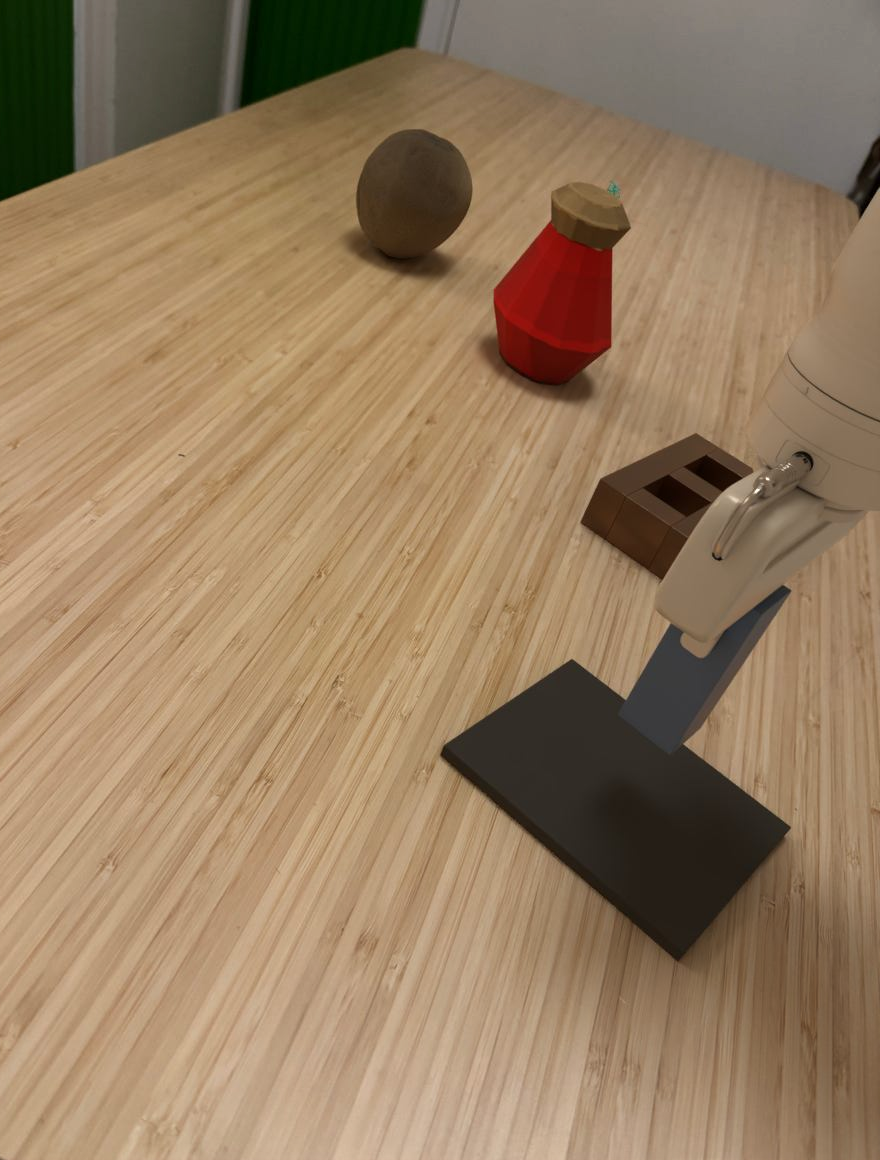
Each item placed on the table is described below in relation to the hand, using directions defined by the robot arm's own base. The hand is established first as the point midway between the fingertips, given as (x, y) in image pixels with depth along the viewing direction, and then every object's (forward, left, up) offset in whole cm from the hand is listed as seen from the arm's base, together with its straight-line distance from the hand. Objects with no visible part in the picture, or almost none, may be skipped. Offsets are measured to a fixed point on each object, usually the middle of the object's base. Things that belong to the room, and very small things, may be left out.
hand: (717, 631), depth 62 cm
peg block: (+16, -36, -16) cm, 42 cm away
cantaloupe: (+72, -55, -16) cm, 92 cm away
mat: (0, 0, -16) cm, 16 cm away
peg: (0, 0, -8) cm, 8 cm away
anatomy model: (+77, -110, -16) cm, 135 cm away
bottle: (+44, -49, -16) cm, 68 cm away
